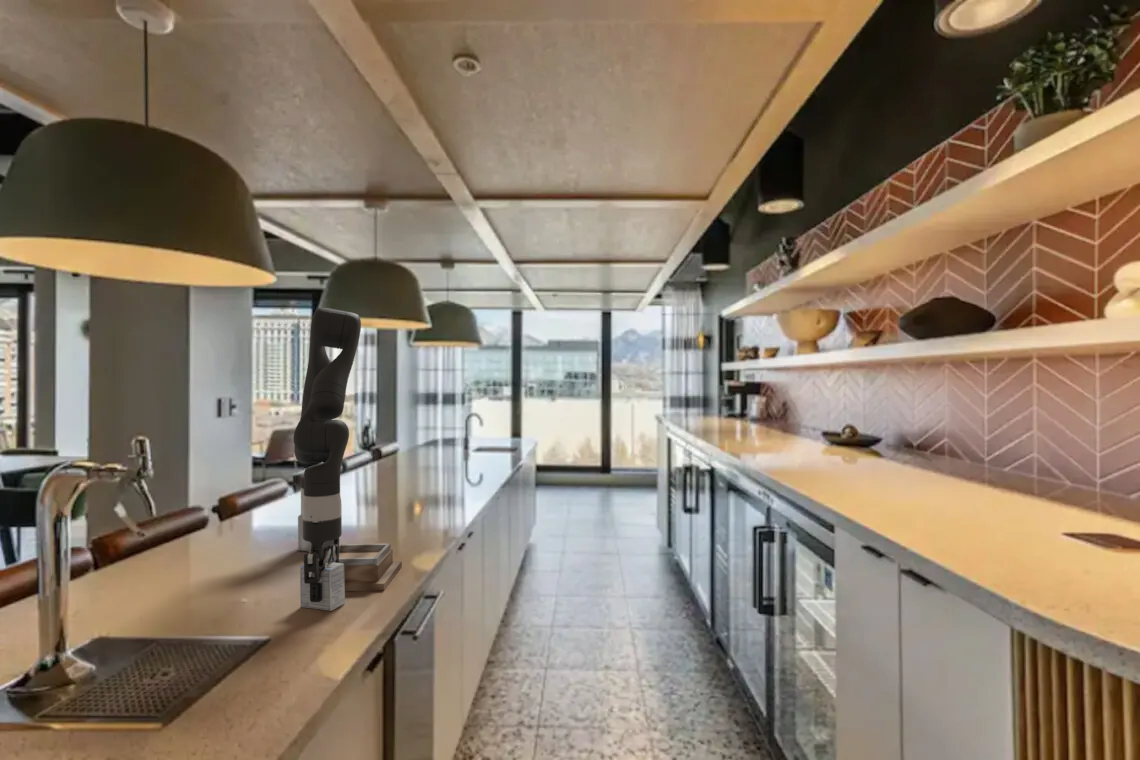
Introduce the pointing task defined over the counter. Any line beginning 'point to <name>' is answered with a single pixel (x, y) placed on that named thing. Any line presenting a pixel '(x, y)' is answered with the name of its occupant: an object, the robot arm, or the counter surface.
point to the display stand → (368, 566)
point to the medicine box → (325, 588)
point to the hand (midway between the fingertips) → (322, 594)
